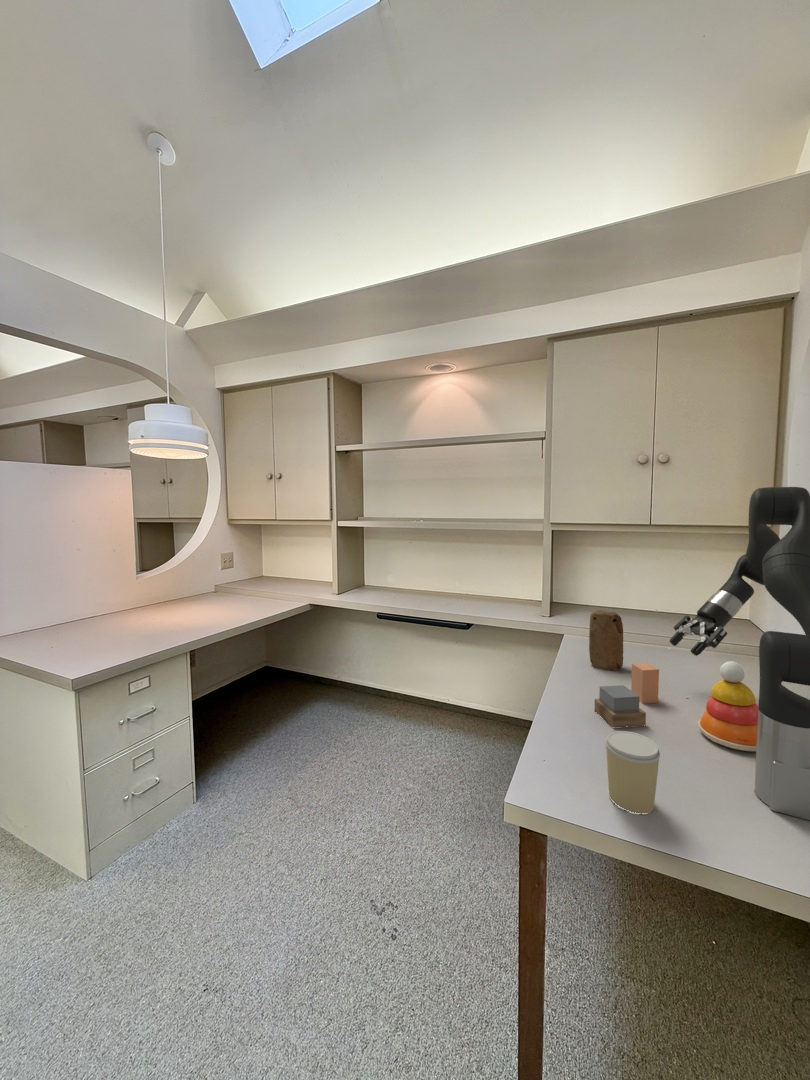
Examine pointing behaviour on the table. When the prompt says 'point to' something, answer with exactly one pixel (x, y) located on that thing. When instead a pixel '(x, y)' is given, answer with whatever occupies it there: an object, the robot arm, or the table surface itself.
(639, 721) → the tower base
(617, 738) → the coffee cup
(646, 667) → the pillar
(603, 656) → the block
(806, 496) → the robot arm
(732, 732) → the stacking toy
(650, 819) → the table surface
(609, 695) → the tower top
